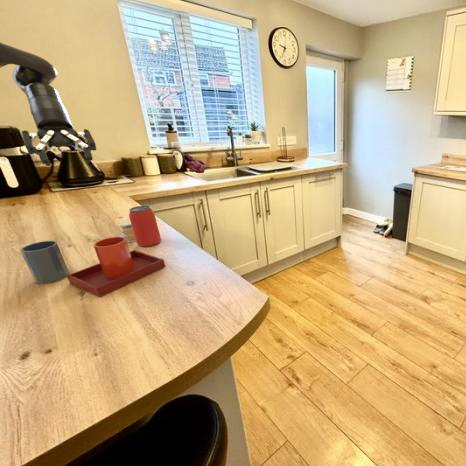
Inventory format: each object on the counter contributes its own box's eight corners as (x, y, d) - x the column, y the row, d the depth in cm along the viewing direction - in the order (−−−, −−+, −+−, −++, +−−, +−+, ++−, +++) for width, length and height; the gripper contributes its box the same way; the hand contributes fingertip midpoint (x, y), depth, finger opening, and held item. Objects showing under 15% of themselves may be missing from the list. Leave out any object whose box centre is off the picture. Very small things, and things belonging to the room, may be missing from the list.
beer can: (165, 242, 95) (156, 207, 91) (143, 249, 90) (132, 212, 86) (155, 237, 99) (146, 203, 94) (134, 244, 94) (123, 208, 89)
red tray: (99, 297, 67) (96, 288, 66) (70, 283, 72) (66, 275, 71) (165, 266, 80) (163, 259, 79) (136, 257, 85) (134, 249, 84)
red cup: (114, 281, 72) (103, 249, 68) (99, 275, 74) (87, 244, 71) (140, 269, 77) (131, 239, 74) (125, 264, 80) (116, 235, 76)
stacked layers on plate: (151, 237, 98) (147, 222, 96) (119, 244, 93) (113, 228, 91) (147, 229, 105) (143, 215, 103) (117, 235, 100) (112, 220, 98)
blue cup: (44, 286, 71) (29, 253, 67) (30, 280, 73) (14, 248, 69) (75, 274, 76) (63, 243, 73) (61, 269, 78) (48, 238, 75)
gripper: (85, 125, 90) (103, 167, 87) (19, 126, 81) (36, 173, 78) (81, 107, 85) (99, 151, 82) (10, 106, 75) (27, 155, 72)
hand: (68, 162), depth 80 cm, fingers open, 8 cm apart
